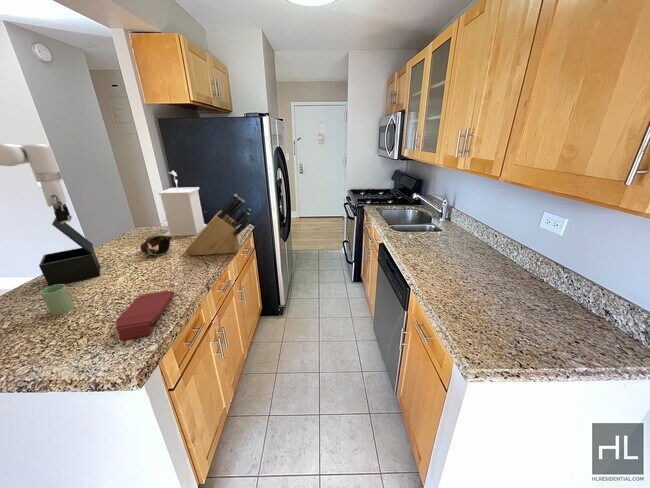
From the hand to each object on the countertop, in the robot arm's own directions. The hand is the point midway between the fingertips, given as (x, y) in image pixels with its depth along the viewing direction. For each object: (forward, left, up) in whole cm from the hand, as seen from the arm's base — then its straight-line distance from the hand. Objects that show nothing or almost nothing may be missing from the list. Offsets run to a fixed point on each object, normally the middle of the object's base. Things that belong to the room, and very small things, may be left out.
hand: (64, 218), depth 111 cm
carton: (+34, -46, -27) cm, 63 cm away
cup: (+4, -31, -27) cm, 41 cm away
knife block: (+60, +5, -27) cm, 66 cm away
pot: (+27, +15, -27) cm, 41 cm away
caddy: (-3, -1, -27) cm, 27 cm away
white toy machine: (+38, +54, -27) cm, 71 cm away
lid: (+1, 0, -8) cm, 8 cm away
